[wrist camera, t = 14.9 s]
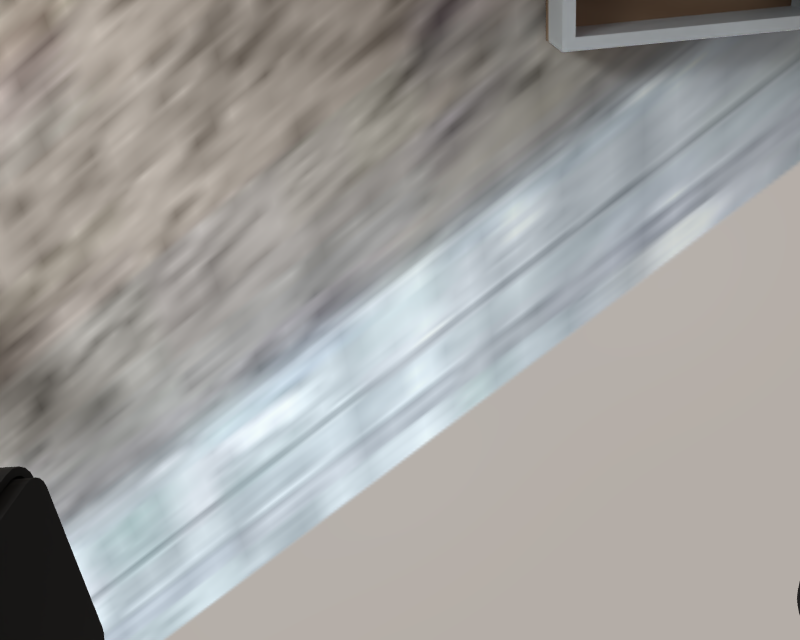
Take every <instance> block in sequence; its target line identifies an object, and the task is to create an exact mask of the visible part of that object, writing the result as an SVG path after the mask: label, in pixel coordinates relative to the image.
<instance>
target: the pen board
mask: <svg viewBox="0 0 800 640" xmlns="http://www.w3.org/2000/svg"><path fill="white" fill-rule="evenodd" d="M791 1H792V0H576V27H578V26H588V25H599V24H609V23H619V22H629V21H640V20H650V19H660V18H671V17H681V16H691V15H701V14H712V13H722V12H732V11H742V10H753V9H763V8H773V7H784V6H791ZM546 40H547V41H548V42H549V40H548V0H546Z"/></svg>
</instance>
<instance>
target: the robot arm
mask: <svg viewBox="0 0 800 640" xmlns="http://www.w3.org/2000/svg"><path fill="white" fill-rule="evenodd" d="M797 603H798V609H799V614H800V583H799V588H798V594H797ZM0 640H104V632H103V628H102V625H101V623H100V620H99V618H98V615H97V613H96V610H95V608H94V605H93V603H92V600H91V598H90V595H89V593H88V590H87V587H86V585H85V582H84V580H83V577H82V575H81V572H80V570H79V567H78V565H77V562H76V560H75V557H74V555H73V552H72V550H71V547H70V544H69V542H68V539H67V537H66V534H65V532H64V529H63V527H62V524H61V522H60V519H59V517H58V514H57V512H56V509H55V507H54V504H53V502H52V499H51V496H50V494H49V491H48V489H47V487H46V485H45V483H44V481H42V480H41V479H40V478H33V476H32V474H31V473H30V472H29V471H28V470H27V469H26V468H23V467H5V468H0Z"/></svg>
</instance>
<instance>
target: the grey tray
mask: <svg viewBox="0 0 800 640" xmlns="http://www.w3.org/2000/svg"><path fill="white" fill-rule="evenodd" d="M791 30H800V0H792V1H791V6H784V7H773V8H763V9H753V10H742V11H732V12H722V13H712V14H701V15H691V16H681V17H671V18H660V19H650V20H640V21H629V22H619V23H609V24H599V25H588V26H578V27H576V0H548V40H549V43H551V44H552V45H553V46H555V47H556V48H557V49H558V50H560V51H561V52H571V51H582V50H592V49H603V48H613V47H624V46H634V45H645V44H655V43H666V42H676V41H687V40H697V39H708V38H718V37H729V36H739V35H750V34H760V33H771V32H781V31H791Z"/></svg>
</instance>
